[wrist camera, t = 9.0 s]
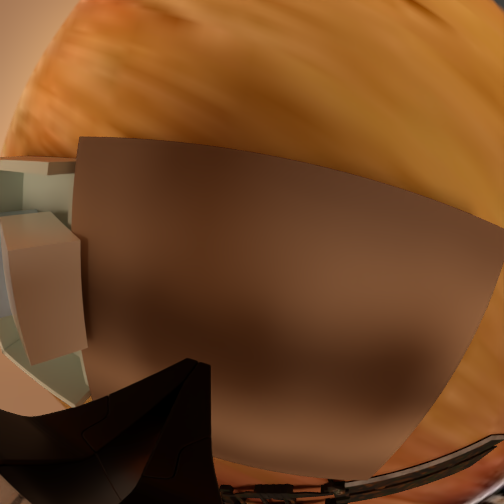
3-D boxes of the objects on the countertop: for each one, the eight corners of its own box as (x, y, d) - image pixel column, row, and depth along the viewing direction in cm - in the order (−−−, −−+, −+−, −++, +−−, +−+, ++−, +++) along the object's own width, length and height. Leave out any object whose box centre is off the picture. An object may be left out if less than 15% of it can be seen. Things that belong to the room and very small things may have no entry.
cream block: (87, 347, 10) (31, 365, 8) (54, 297, 13) (10, 308, 11) (80, 240, 9) (7, 250, 7) (50, 211, 12) (-1, 216, 9)
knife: (510, 419, 12) (516, 429, 10) (487, 459, 13) (490, 469, 12) (214, 471, 17) (209, 483, 16) (233, 501, 19) (230, 511, 17)
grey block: (-22, 322, 9) (-24, 297, 10) (50, 306, 13) (39, 284, 14) (-38, 231, 7) (-35, 217, 9) (45, 220, 11) (35, 209, 13)
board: (364, 443, 13) (367, 480, 10) (118, 377, 15) (93, 405, 12) (472, 219, 9) (511, 232, 6) (123, 141, 11) (79, 136, 8)
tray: (111, 374, 15) (76, 410, 12) (36, 329, 16) (2, 352, 13) (110, 161, 12) (48, 162, 8) (26, 155, 13) (-22, 159, 9)
